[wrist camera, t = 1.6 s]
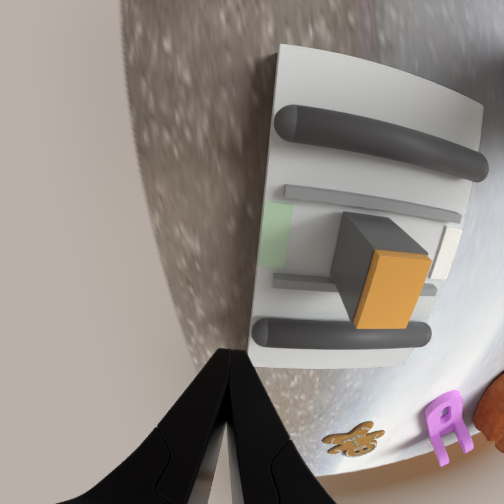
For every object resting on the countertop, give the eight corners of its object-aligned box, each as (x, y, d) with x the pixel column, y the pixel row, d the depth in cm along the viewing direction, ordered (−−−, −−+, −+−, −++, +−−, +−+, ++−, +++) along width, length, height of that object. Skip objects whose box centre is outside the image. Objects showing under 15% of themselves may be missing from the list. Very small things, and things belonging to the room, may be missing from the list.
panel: (467, 104, 15) (502, 107, 11) (397, 350, 24) (411, 381, 21) (277, 51, 14) (283, 33, 11) (247, 348, 24) (245, 385, 20)
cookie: (378, 420, 29) (391, 445, 32) (376, 414, 29) (389, 440, 33) (315, 443, 30) (339, 464, 34) (314, 437, 31) (338, 459, 35)
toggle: (388, 217, 16) (434, 258, 11) (373, 275, 18) (406, 330, 13) (342, 211, 16) (378, 253, 11) (329, 272, 18) (353, 330, 13)
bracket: (458, 419, 32) (472, 451, 26) (428, 436, 34) (440, 469, 27) (458, 383, 28) (479, 423, 21) (422, 404, 29) (439, 446, 23)
